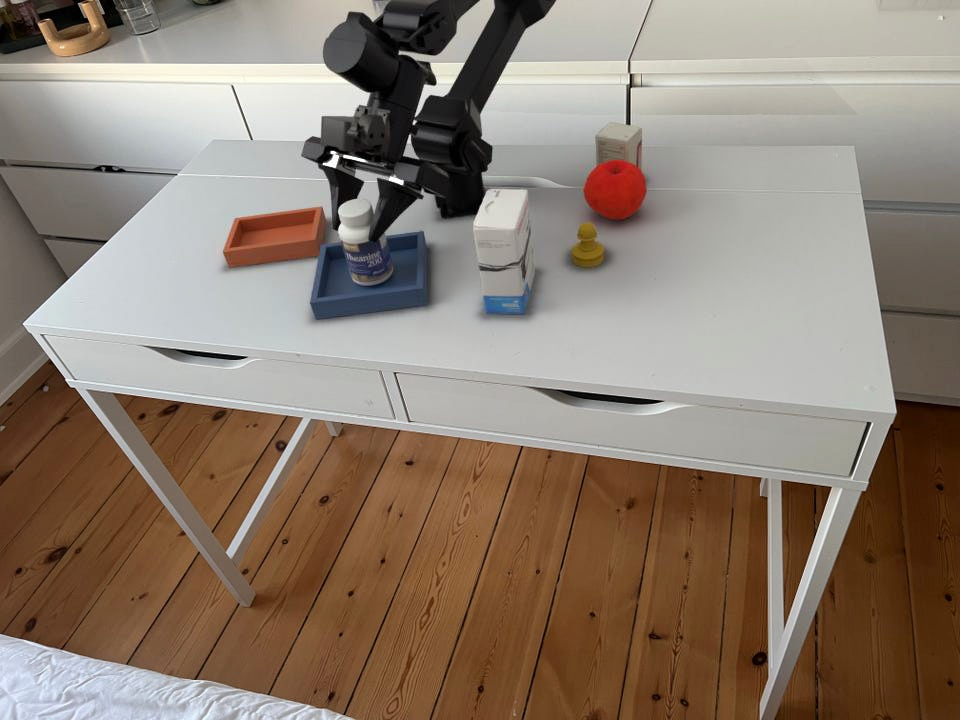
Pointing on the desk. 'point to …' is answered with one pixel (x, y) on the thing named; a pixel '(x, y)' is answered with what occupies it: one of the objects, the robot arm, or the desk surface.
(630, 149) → the small box
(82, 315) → the desk surface
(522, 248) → the ink box
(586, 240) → the chess piece
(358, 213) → the pill bottle
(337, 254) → the blue tray
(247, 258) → the terracotta tray
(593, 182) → the apple
